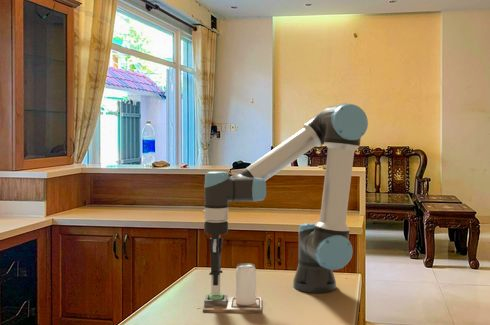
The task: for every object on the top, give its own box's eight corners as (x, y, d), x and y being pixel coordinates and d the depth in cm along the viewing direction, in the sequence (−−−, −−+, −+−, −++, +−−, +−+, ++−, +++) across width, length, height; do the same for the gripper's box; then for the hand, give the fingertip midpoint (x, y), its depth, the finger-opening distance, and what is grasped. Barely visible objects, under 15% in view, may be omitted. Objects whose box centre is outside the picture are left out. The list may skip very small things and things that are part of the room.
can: (259, 301, 163) (260, 264, 162) (249, 307, 157) (249, 269, 157) (242, 298, 166) (242, 262, 166) (231, 303, 161) (231, 266, 160)
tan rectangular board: (261, 299, 168) (261, 291, 168) (261, 313, 155) (261, 304, 155) (207, 298, 169) (207, 291, 169) (202, 312, 156) (202, 303, 156)
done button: (223, 299, 164) (223, 293, 164) (222, 303, 160) (222, 297, 160) (209, 299, 164) (209, 292, 164) (208, 303, 160) (208, 297, 160)
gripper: (206, 217, 167) (206, 288, 169) (202, 223, 154) (201, 300, 156) (229, 217, 167) (228, 288, 168) (226, 224, 154) (226, 301, 155)
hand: (215, 294), depth 162 cm, fingers closed
